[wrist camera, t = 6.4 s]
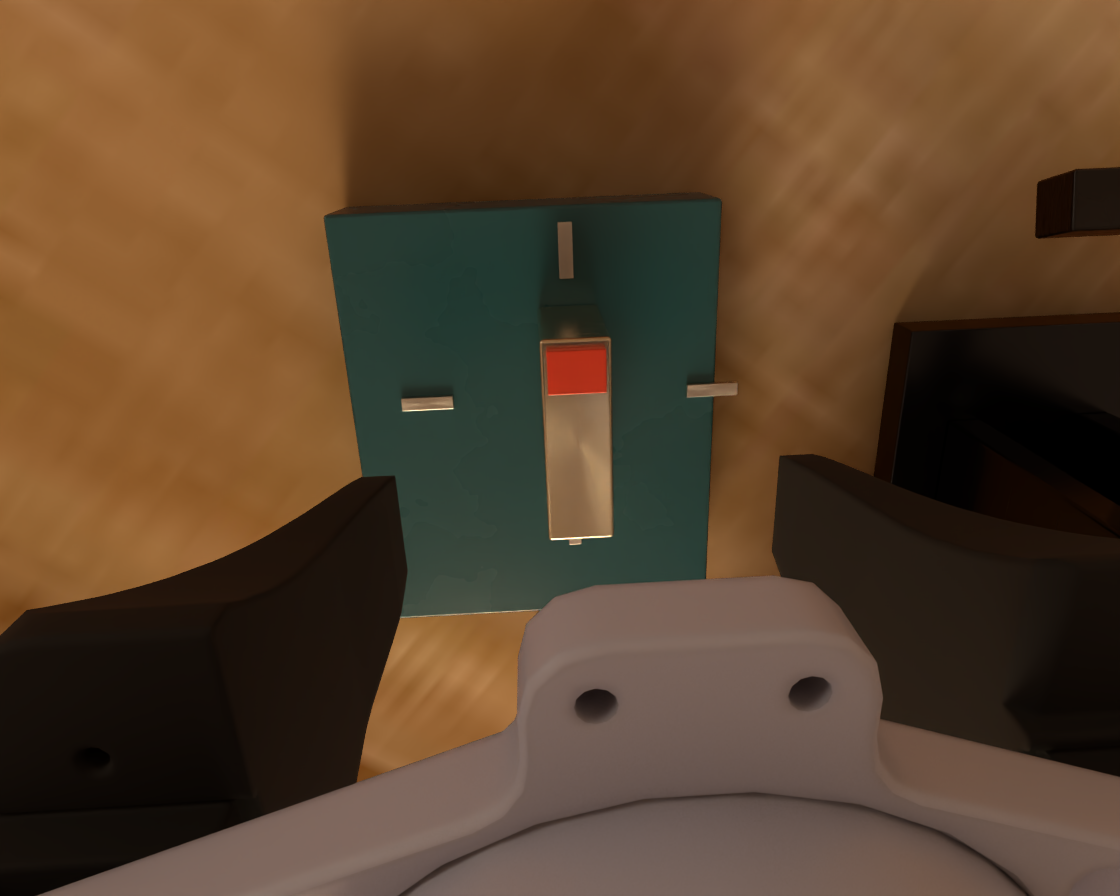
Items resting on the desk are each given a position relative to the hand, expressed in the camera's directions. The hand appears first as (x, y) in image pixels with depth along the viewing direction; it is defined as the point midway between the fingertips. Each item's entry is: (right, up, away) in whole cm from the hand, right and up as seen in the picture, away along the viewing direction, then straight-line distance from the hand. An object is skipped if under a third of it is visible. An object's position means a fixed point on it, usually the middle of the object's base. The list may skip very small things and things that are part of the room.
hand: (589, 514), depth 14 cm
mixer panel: (-1, +3, +9) cm, 10 cm away
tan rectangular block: (0, +3, +7) cm, 7 cm away
